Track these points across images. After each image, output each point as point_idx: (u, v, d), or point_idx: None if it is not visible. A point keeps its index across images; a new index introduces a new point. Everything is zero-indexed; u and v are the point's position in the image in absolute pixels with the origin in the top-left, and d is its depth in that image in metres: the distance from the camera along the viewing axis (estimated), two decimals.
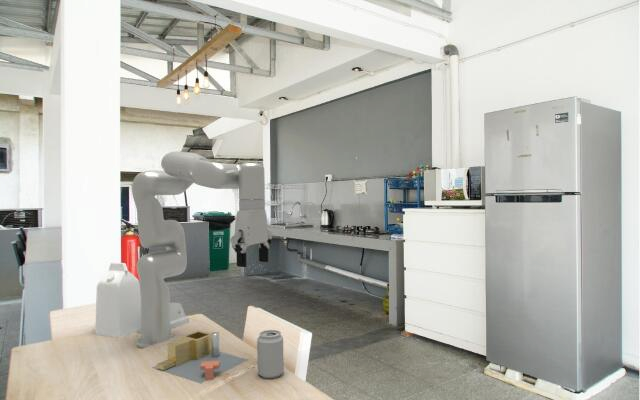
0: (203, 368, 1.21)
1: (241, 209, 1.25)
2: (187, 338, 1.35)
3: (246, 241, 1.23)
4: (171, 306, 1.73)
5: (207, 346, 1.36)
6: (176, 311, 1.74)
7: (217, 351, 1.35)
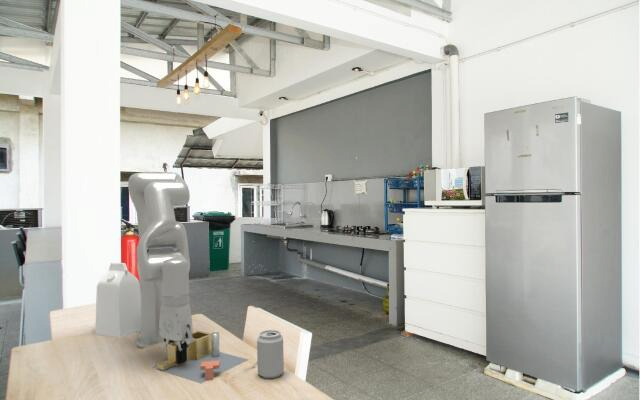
0: (203, 368, 1.21)
1: (182, 305, 1.28)
2: None
3: None
4: None
5: (207, 346, 1.36)
6: None
7: (217, 351, 1.35)
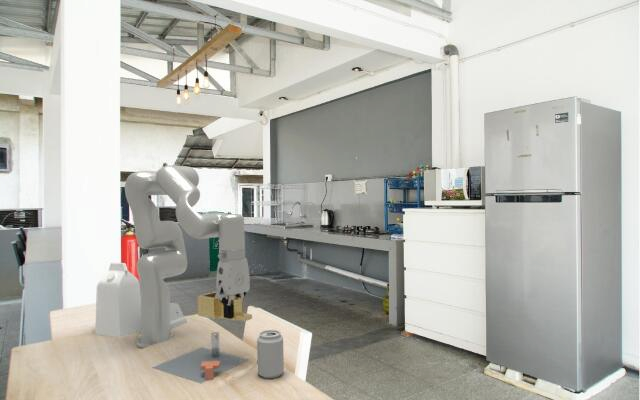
0: (203, 368, 1.21)
1: None
2: None
3: None
4: None
5: None
6: (174, 311, 1.74)
7: (217, 351, 1.35)
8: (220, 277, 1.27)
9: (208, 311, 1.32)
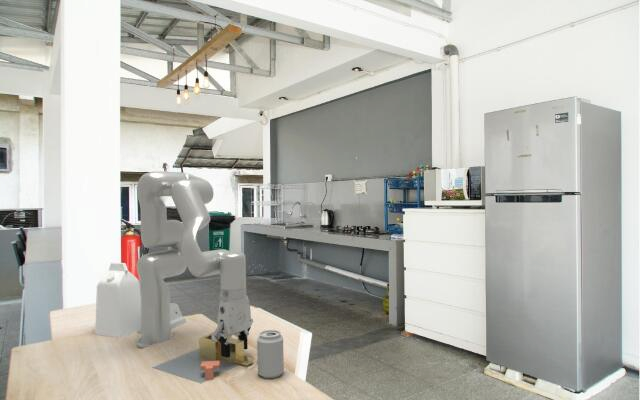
0: (203, 368, 1.21)
1: None
2: None
3: None
4: None
5: None
6: (173, 311, 1.74)
7: None
8: (221, 316, 1.27)
9: (209, 354, 1.33)
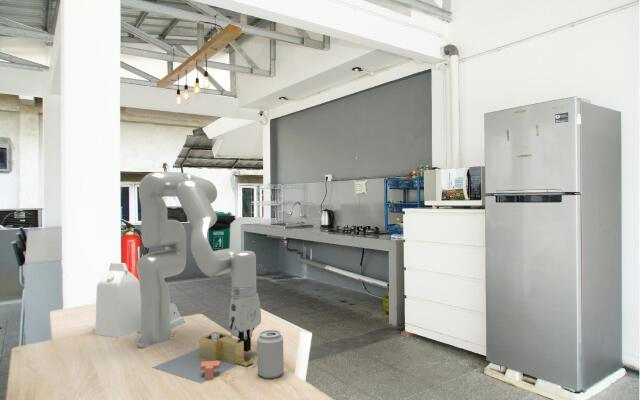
0: (203, 368, 1.21)
1: None
2: (222, 339, 1.34)
3: None
4: None
5: None
6: (172, 311, 1.74)
7: None
8: (233, 313, 1.31)
9: (209, 354, 1.33)
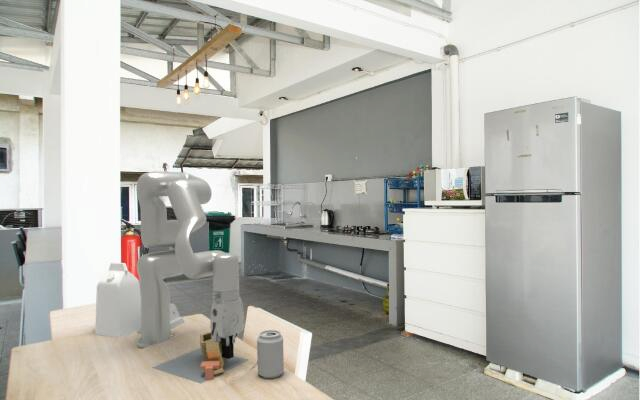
0: (203, 368, 1.21)
1: None
2: (210, 340, 1.31)
3: None
4: None
5: None
6: (171, 312, 1.74)
7: None
8: (214, 318, 1.25)
9: None
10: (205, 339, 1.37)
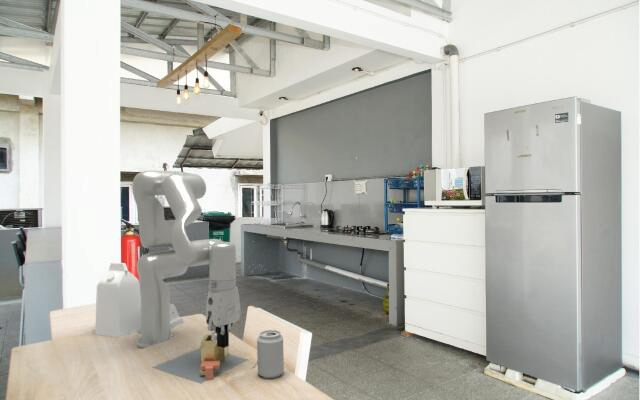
0: (203, 368, 1.21)
1: None
2: (210, 341, 1.31)
3: None
4: None
5: None
6: (171, 312, 1.74)
7: None
8: (210, 307, 1.24)
9: None
10: (210, 340, 1.37)
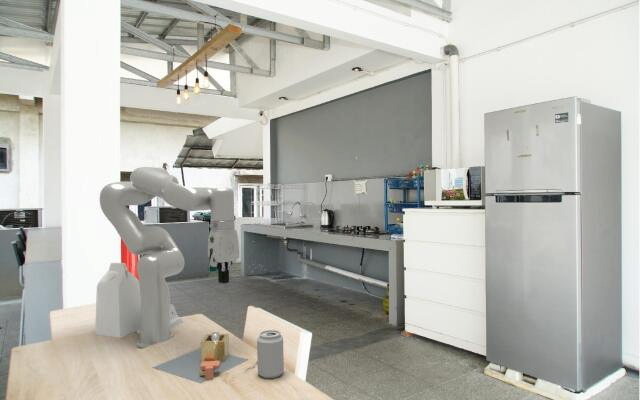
0: (203, 368, 1.21)
1: None
2: (211, 341, 1.31)
3: None
4: None
5: (227, 346, 1.36)
6: (170, 312, 1.73)
7: None
8: (211, 245, 1.37)
9: None
10: (210, 340, 1.37)
